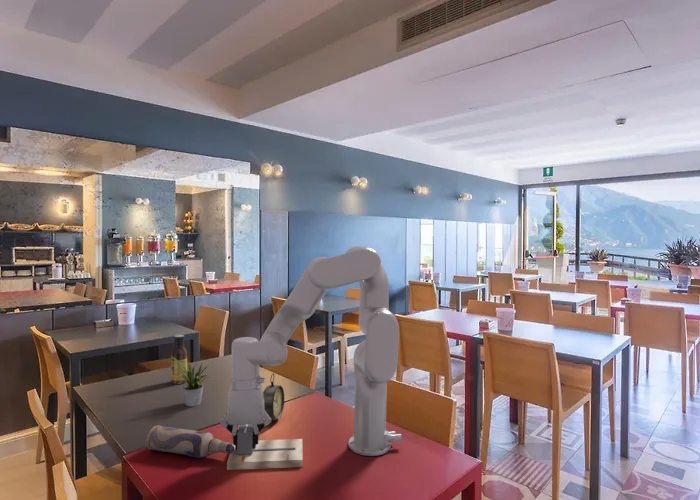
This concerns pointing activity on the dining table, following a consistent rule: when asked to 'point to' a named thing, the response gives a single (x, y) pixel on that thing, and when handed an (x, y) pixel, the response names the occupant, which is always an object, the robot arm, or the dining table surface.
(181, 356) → the sauce bottle
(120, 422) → the dining table surface
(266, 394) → the alarm clock
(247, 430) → the fader slider
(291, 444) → the fader board
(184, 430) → the decorative bottle
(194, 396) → the house plant
